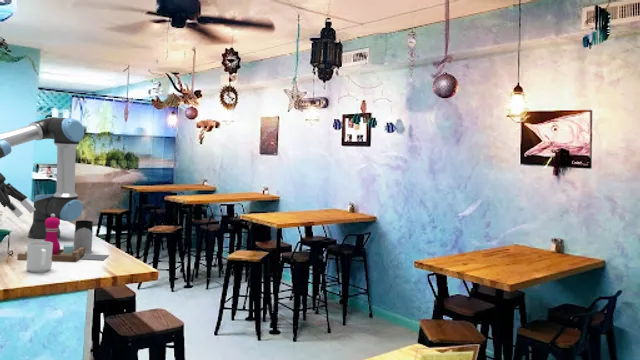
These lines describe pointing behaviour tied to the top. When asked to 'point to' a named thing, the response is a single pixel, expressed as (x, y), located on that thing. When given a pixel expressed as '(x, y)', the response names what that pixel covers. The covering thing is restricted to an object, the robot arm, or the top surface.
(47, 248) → the mug
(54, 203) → the robot arm
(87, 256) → the mat
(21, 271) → the top surface
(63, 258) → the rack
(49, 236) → the pepper mill
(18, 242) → the top surface
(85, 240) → the glass holder
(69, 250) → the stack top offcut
